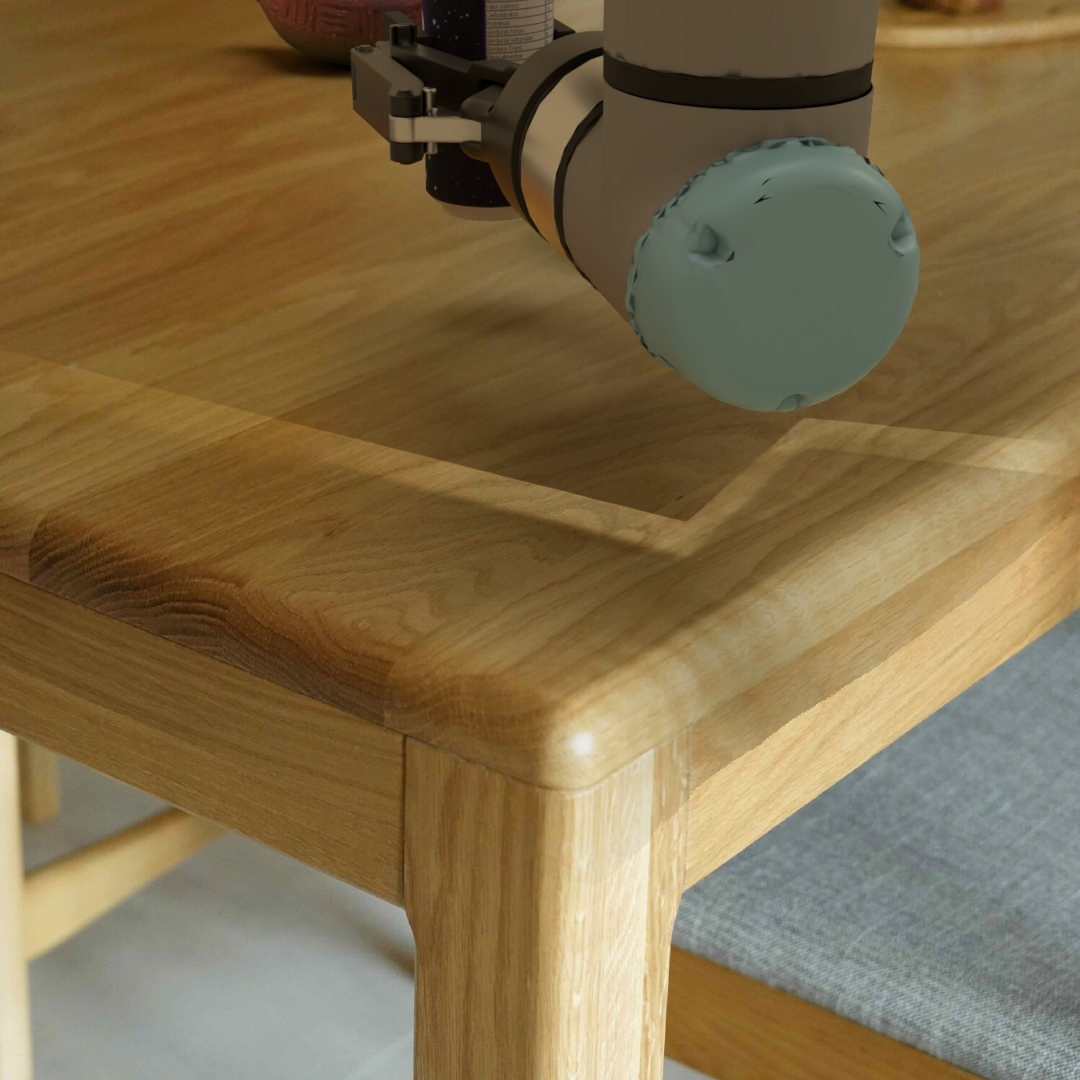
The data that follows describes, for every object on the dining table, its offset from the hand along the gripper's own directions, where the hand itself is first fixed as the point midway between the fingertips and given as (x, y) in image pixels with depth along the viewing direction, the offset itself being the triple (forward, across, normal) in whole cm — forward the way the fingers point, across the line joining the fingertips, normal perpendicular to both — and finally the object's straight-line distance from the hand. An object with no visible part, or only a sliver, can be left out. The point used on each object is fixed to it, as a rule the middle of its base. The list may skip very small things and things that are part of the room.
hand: (460, 39), depth 76 cm
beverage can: (-5, 0, -7) cm, 9 cm away
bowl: (+56, +3, -12) cm, 57 cm away
